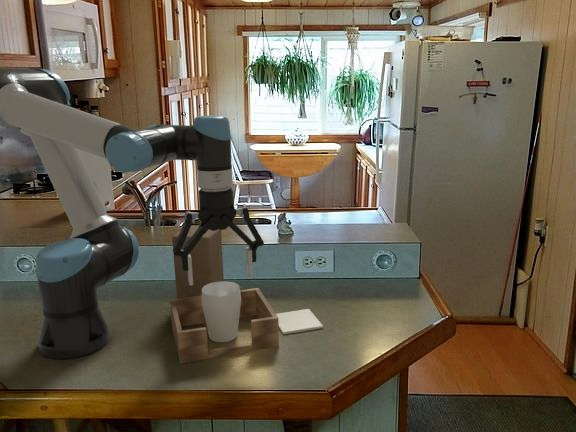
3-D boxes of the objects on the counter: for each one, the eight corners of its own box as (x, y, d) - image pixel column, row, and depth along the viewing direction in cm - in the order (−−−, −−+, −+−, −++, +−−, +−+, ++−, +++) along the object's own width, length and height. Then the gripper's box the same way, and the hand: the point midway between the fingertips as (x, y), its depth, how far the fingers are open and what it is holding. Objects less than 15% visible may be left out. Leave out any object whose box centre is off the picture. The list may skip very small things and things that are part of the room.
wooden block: (212, 311, 136) (208, 237, 131) (176, 308, 138) (171, 235, 133) (225, 295, 146) (221, 226, 140) (191, 293, 147) (186, 225, 142)
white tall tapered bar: (102, 204, 252) (93, 120, 242) (114, 209, 242) (105, 122, 231) (59, 211, 239) (48, 123, 229) (70, 217, 229) (59, 125, 219)
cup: (220, 323, 129) (217, 278, 126) (250, 332, 124) (248, 285, 121) (195, 339, 121) (192, 291, 118) (226, 349, 117) (224, 299, 114)
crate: (180, 363, 112) (177, 333, 110) (172, 326, 128) (169, 299, 126) (279, 346, 118) (278, 317, 116) (259, 313, 134) (258, 287, 133)
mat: (283, 334, 123) (283, 332, 123) (271, 316, 132) (271, 314, 132) (322, 328, 126) (322, 325, 126) (308, 310, 135) (308, 308, 135)
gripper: (158, 196, 107) (166, 293, 112) (275, 186, 114) (277, 277, 119) (155, 189, 114) (163, 280, 119) (266, 180, 121) (269, 267, 126)
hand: (220, 279), depth 119 cm, fingers open, 13 cm apart
